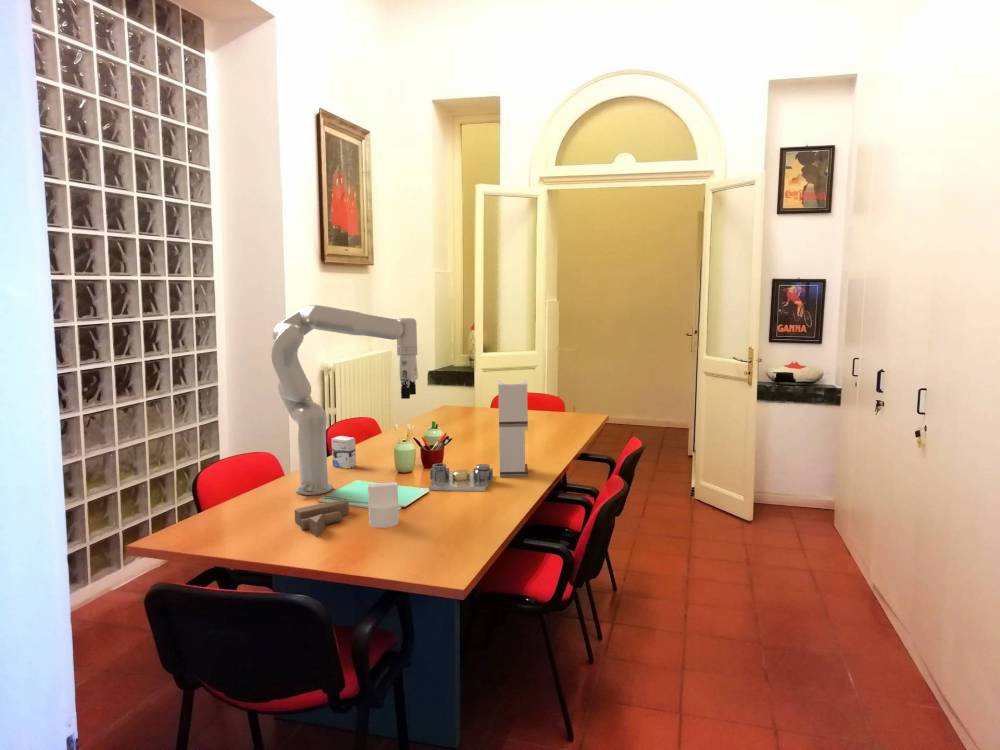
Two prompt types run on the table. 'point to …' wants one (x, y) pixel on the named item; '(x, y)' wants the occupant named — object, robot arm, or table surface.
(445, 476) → the planet gear
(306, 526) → the wooden block set
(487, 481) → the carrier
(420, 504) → the table surface
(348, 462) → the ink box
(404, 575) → the table surface
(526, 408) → the grey tall pillar
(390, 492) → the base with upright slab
